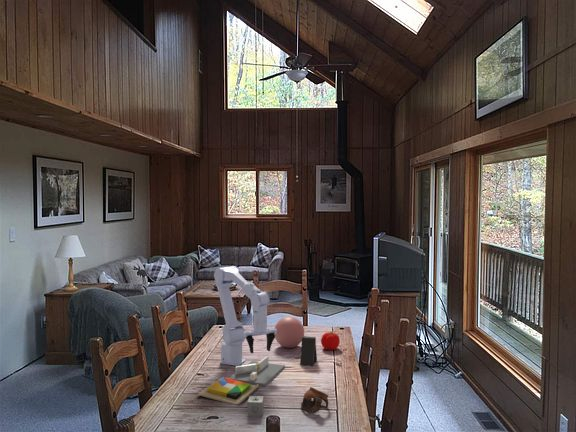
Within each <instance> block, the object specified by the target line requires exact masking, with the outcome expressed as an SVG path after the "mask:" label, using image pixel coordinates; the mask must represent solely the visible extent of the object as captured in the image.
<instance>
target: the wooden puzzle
mask: <svg viewBox="0 0 576 432" xmlns="http://www.w3.org/2000/svg"><path fill="white" fill-rule="evenodd" d="M230 378H231V377H226V376H223V377H220V378H218V379H216V380H215V381H214V382H213V383H211V384H210V385H209V386H207V387H206V388H204V389H203V390H201V391H200V392H199V393H198V394H197V395H196V397H197V398H199V397H204V398H207V399H211V400H215V401H218V402H222V403H225V402H226V404H230V403H231V404H230V405H236V404H238V405H240V404H241V403H243V402H244V401H245V400H246V399H247V398H249V396H251V394H253V392H255V390H257V389H258V388H259V385H258V384H257V385H253V384H249V383H245V382H241V381H236V380H233V379H230ZM238 405H237V406H238Z"/></svg>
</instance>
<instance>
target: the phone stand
mask: <svg viewBox="0 0 576 432" xmlns="http://www.w3.org/2000/svg"><path fill="white" fill-rule="evenodd" d="M316 340H317V339H316V336H305V335H304V336H303V337H302V341H301V347H300V348H301V350H300V361H299V362H300V363H299V365H300V366H303V367H304V366H305V367H314V366H315V364H316V362H317V360H318V355H317V345H316V343H317V341H316Z"/></svg>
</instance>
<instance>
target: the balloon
mask: <svg viewBox="0 0 576 432" xmlns="http://www.w3.org/2000/svg"><path fill="white" fill-rule="evenodd" d="M274 328H275V329H277V334H274V335H275V338H274V340H276V341H275V342H277V344H278V345H280V346H281V347H283V348H286V349H287V348H288V349H292V348H296V347H297V346H298V345H300V344H302V337H303V336H305V327H304V325H303V323H302V322H301V321H300V320H299V319H298V318H297V317H293V316H285V317H282V318H281V319H279V320H278V321H277V323H276V324H275V325H274Z"/></svg>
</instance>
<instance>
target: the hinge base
mask: <svg viewBox="0 0 576 432" xmlns="http://www.w3.org/2000/svg"><path fill="white" fill-rule="evenodd" d="M249 364H256V367H257V366H259V369H256V372H252V373H245V374H239V375H236V374H233V375H232V376H230V377H229V378H230V379H233V380H236V381H241V382H245V383H249V384H251V385H254V386H256V385H257V384H258V385H259V386H260V387H266V386H267V385H268V384H269V383H270V382H272V380H273V379H274V378H276V377H277V376H278V375H279V374H280V372H283V370H284V369H285V365H284V364H278V363H277V364H276V363H270V362H269V356H267V355H266V356H265V357H264V358H262V359H260V361H255V360H251V361H250V362H249V363H248V364H247V365H249Z"/></svg>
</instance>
